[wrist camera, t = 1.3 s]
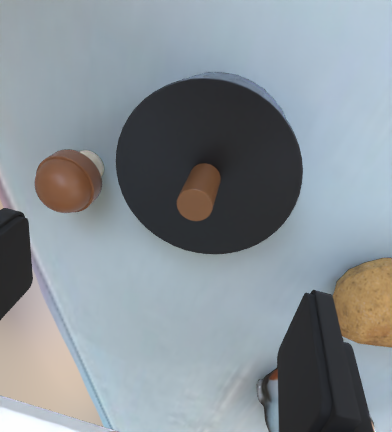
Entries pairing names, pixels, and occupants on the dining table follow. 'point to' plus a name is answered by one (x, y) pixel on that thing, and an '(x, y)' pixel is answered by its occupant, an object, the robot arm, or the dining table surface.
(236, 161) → the pan lid
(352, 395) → the robot arm
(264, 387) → the lucky cat figurine
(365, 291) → the potato
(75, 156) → the mushroom
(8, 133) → the dining table surface
